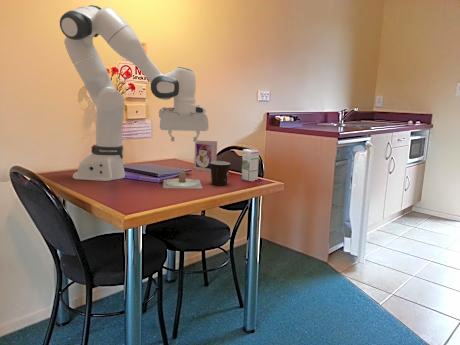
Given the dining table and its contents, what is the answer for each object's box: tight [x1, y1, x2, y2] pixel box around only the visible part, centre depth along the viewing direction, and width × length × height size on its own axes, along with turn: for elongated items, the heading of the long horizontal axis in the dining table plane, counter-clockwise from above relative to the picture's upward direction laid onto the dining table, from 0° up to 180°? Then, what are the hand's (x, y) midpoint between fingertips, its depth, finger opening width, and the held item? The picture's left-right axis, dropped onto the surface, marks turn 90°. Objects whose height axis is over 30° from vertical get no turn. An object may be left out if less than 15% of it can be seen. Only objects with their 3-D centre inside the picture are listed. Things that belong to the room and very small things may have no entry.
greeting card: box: [193, 140, 218, 173], centre depth 205 cm, size 11×7×15 cm, turn 61°
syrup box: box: [240, 148, 260, 182], centre depth 186 cm, size 6×6×14 cm
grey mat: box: [162, 178, 203, 190], centre depth 171 cm, size 16×16×1 cm
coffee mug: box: [210, 160, 231, 187], centre depth 171 cm, size 12×9×10 cm
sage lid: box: [166, 171, 199, 189], centre depth 170 cm, size 14×14×5 cm
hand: (183, 141), depth 167 cm, fingers open, 8 cm apart
